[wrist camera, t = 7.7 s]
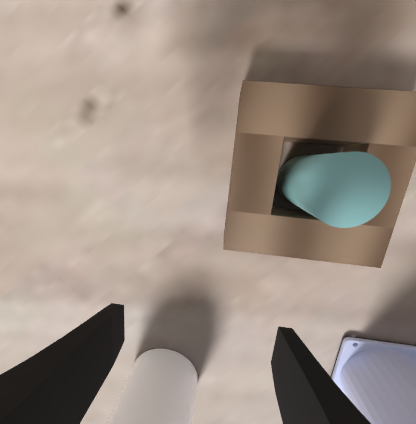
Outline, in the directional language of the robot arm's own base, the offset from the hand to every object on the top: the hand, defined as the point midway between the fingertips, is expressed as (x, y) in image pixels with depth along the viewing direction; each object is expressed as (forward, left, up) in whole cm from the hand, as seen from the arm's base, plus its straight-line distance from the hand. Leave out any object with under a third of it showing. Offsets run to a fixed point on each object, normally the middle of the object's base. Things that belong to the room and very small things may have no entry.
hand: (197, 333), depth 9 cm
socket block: (-7, -7, -10) cm, 14 cm away
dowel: (-7, -7, -10) cm, 14 cm away
